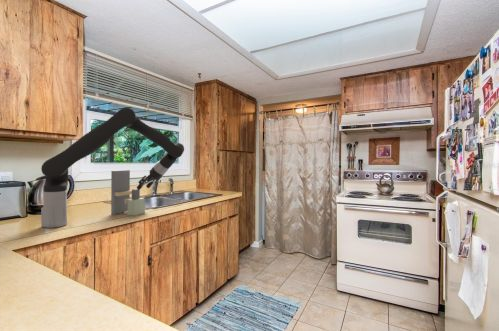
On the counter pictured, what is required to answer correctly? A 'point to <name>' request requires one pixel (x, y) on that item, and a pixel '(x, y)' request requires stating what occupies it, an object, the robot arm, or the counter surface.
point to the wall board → (120, 190)
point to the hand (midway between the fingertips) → (142, 187)
